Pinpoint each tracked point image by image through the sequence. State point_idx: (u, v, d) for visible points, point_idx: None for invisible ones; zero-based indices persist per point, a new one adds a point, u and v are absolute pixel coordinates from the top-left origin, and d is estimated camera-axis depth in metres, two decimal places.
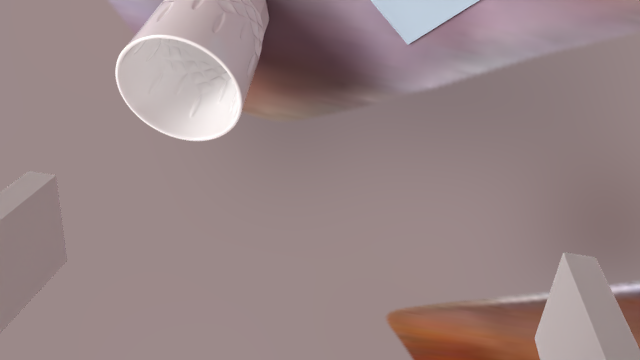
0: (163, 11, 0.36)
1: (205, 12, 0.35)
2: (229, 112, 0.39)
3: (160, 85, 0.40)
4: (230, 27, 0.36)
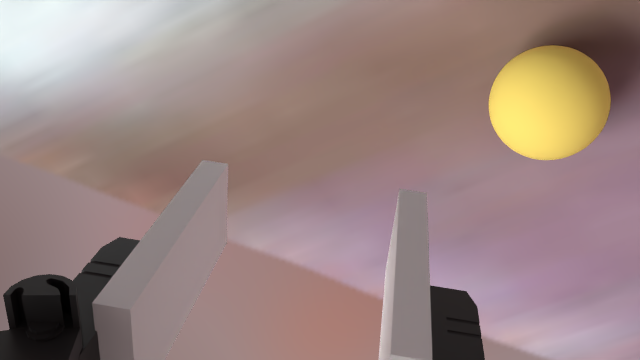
0: None
1: None
2: None
3: None
4: None
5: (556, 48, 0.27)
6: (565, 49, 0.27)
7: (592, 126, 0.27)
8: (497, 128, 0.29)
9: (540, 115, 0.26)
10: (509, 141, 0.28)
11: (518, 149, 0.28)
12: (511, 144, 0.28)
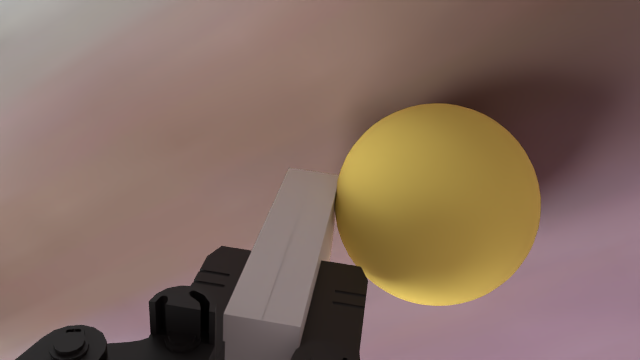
0: None
1: None
2: None
3: None
4: None
5: (433, 113, 0.15)
6: (449, 115, 0.15)
7: (502, 260, 0.14)
8: None
9: (400, 247, 0.14)
10: None
11: (384, 290, 0.16)
12: None
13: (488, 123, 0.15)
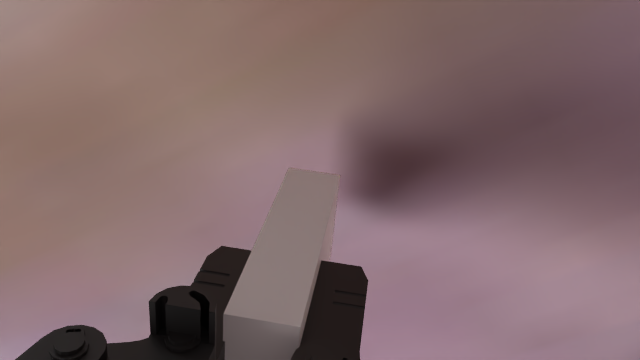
0: None
1: None
2: None
3: None
4: None
5: None
6: None
7: None
8: None
9: None
10: None
11: None
12: None
13: None
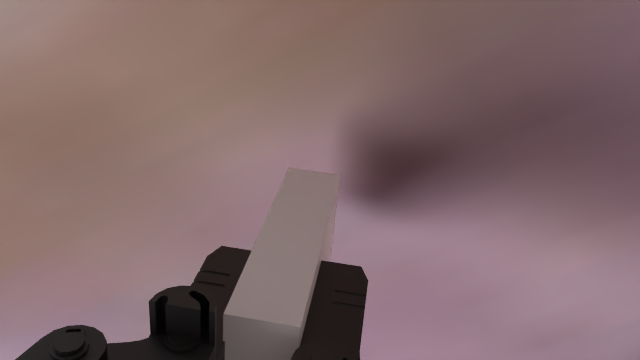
0: None
1: None
2: None
3: None
4: None
5: None
6: None
7: None
8: None
9: None
10: None
11: None
12: None
13: None
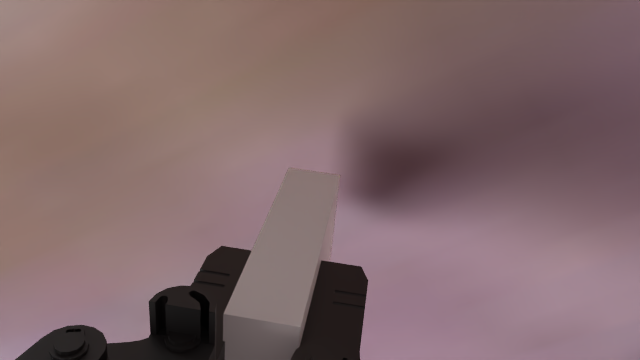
0: None
1: None
2: None
3: None
4: None
5: None
6: None
7: None
8: None
9: None
10: None
11: None
12: None
13: None
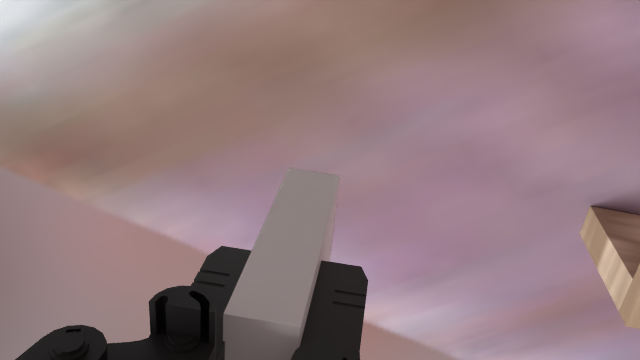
0: None
1: None
2: None
3: None
4: None
5: None
6: None
7: None
8: None
9: None
10: None
11: None
12: None
13: None
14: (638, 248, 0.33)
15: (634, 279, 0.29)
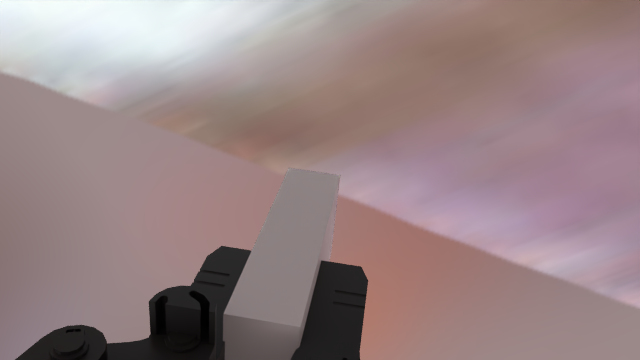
0: None
1: None
2: None
3: None
4: None
5: None
6: None
7: None
8: None
9: None
10: None
11: None
12: None
13: None
14: None
15: None
